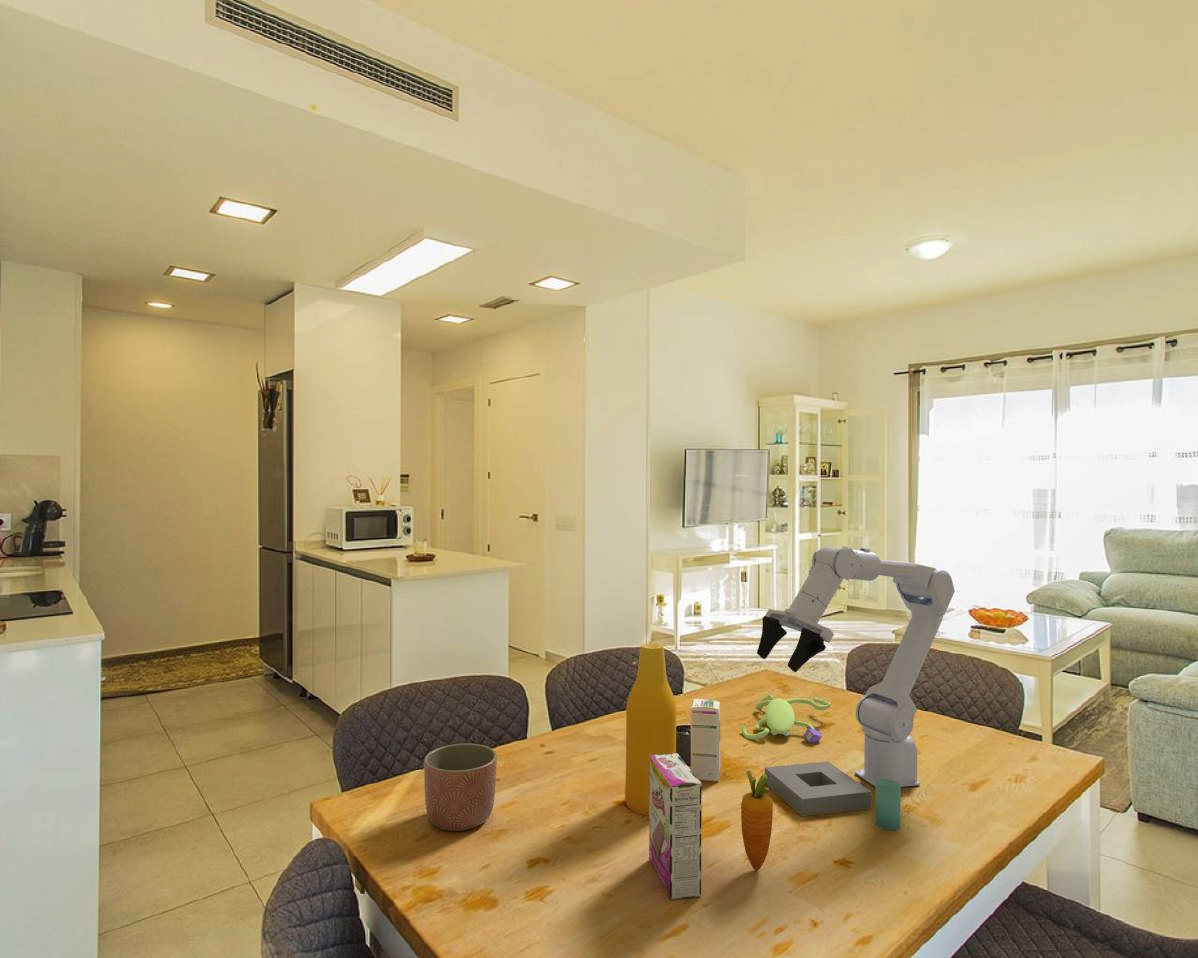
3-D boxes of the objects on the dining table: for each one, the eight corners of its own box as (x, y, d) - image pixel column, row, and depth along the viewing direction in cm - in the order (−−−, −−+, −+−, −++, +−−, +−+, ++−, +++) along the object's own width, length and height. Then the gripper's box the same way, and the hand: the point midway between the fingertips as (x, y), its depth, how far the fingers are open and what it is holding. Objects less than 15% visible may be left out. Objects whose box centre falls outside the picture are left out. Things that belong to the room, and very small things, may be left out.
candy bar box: (646, 859, 107) (647, 754, 107) (677, 856, 108) (678, 751, 108) (668, 902, 96) (670, 784, 96) (702, 898, 97) (703, 781, 98)
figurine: (832, 716, 176) (832, 694, 176) (821, 753, 152) (821, 728, 152) (759, 706, 184) (760, 685, 184) (737, 740, 159) (738, 715, 159)
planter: (433, 844, 111) (434, 776, 111) (415, 811, 122) (416, 750, 122) (506, 827, 117) (506, 763, 117) (483, 797, 128) (484, 738, 128)
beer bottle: (618, 811, 123) (620, 648, 123) (633, 790, 132) (635, 638, 132) (668, 820, 120) (670, 653, 120) (680, 798, 128) (682, 642, 129)
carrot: (735, 862, 107) (736, 765, 107) (766, 861, 107) (767, 764, 107) (745, 880, 102) (746, 778, 102) (777, 879, 102) (778, 778, 102)
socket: (827, 776, 139) (827, 761, 139) (871, 807, 125) (871, 791, 125) (764, 782, 136) (764, 767, 136) (802, 816, 122) (802, 799, 122)
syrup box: (719, 782, 136) (720, 708, 136) (689, 779, 137) (690, 706, 137) (720, 770, 141) (721, 699, 141) (691, 767, 142) (692, 697, 142)
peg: (890, 817, 122) (890, 778, 122) (905, 828, 118) (905, 787, 118) (870, 820, 121) (870, 780, 121) (885, 831, 117) (885, 790, 117)
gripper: (772, 581, 134) (736, 639, 130) (832, 598, 122) (795, 663, 118) (790, 601, 137) (756, 658, 133) (851, 619, 125) (815, 683, 121)
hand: (775, 662), depth 126 cm, fingers open, 7 cm apart
